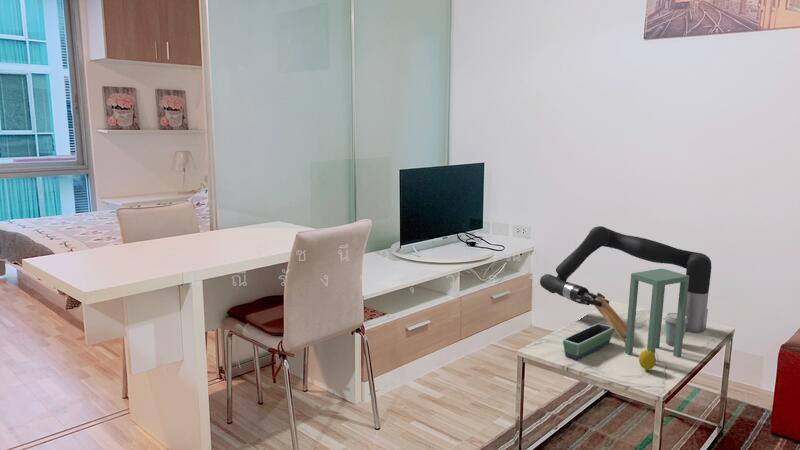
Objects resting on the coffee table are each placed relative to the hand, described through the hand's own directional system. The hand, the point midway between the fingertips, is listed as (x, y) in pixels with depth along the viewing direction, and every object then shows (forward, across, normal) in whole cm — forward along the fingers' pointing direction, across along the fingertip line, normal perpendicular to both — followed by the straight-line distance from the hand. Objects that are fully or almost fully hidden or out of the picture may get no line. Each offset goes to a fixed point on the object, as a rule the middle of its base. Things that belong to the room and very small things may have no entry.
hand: (604, 304), depth 246 cm
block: (+4, 0, +6) cm, 7 cm away
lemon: (+35, -14, +13) cm, 40 cm away
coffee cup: (+22, +17, +13) cm, 31 cm away
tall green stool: (+26, 0, +13) cm, 29 cm away
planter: (+11, -19, +13) cm, 26 cm away
